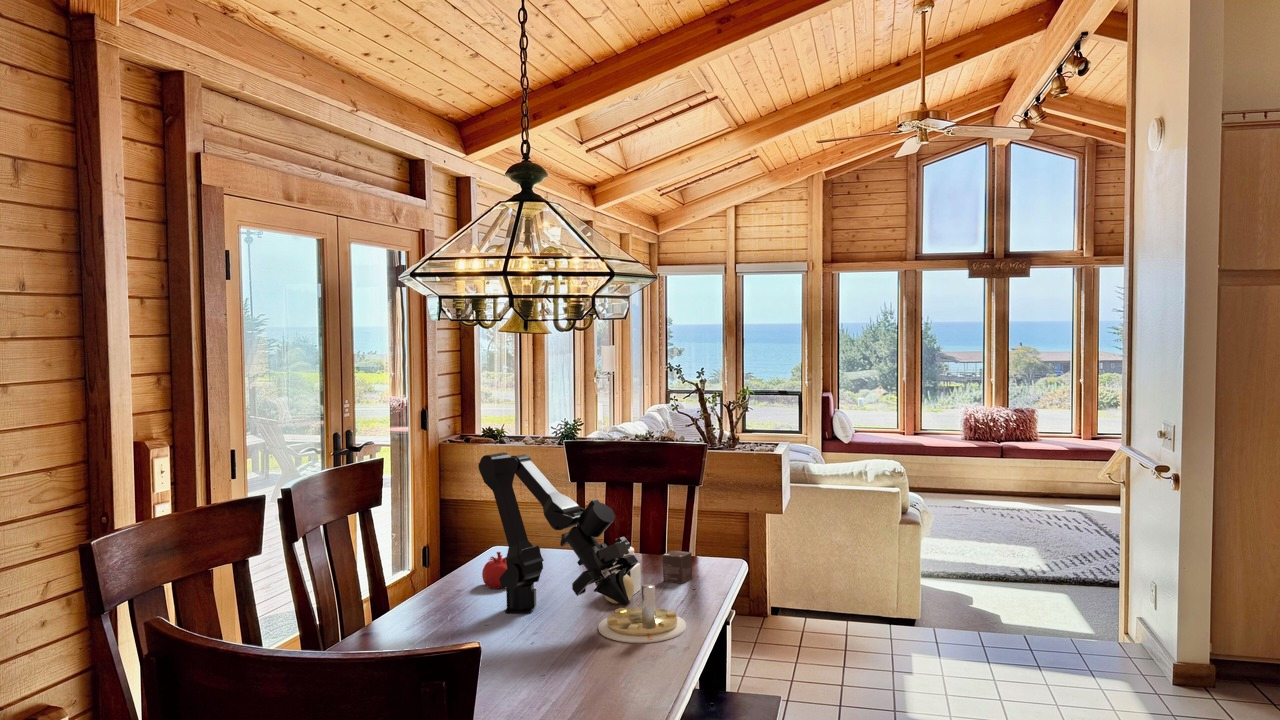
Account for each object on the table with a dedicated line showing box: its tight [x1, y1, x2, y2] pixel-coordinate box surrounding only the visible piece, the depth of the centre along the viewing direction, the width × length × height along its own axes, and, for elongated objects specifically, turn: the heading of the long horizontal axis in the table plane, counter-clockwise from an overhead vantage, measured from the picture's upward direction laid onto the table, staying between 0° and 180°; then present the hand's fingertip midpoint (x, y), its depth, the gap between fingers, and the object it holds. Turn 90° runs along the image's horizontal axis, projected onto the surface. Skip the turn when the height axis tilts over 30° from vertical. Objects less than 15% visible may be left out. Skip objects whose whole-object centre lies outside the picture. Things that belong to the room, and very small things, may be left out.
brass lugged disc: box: [606, 584, 677, 636], centre depth 193 cm, size 16×16×10 cm
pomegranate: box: [481, 551, 507, 589], centre depth 230 cm, size 10×10×9 cm
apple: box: [603, 574, 634, 604], centre depth 213 cm, size 8×8×8 cm
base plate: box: [598, 615, 687, 644], centre depth 193 cm, size 20×20×1 cm
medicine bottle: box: [613, 545, 642, 596], centre depth 221 cm, size 7×7×12 cm
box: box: [662, 549, 693, 584], centre depth 232 cm, size 6×6×7 cm
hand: (627, 604), depth 189 cm, fingers closed
